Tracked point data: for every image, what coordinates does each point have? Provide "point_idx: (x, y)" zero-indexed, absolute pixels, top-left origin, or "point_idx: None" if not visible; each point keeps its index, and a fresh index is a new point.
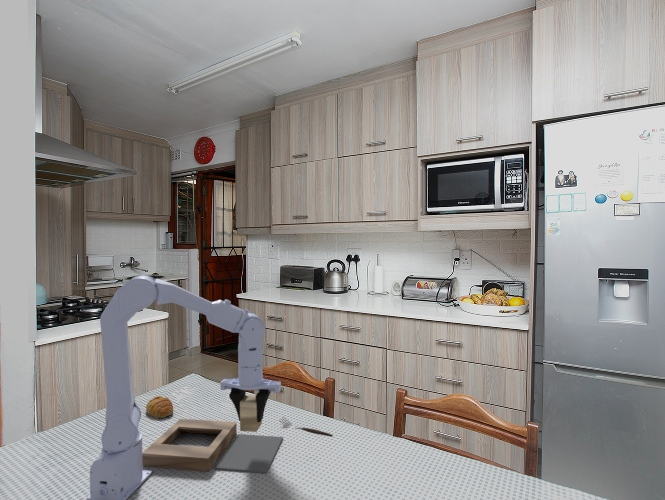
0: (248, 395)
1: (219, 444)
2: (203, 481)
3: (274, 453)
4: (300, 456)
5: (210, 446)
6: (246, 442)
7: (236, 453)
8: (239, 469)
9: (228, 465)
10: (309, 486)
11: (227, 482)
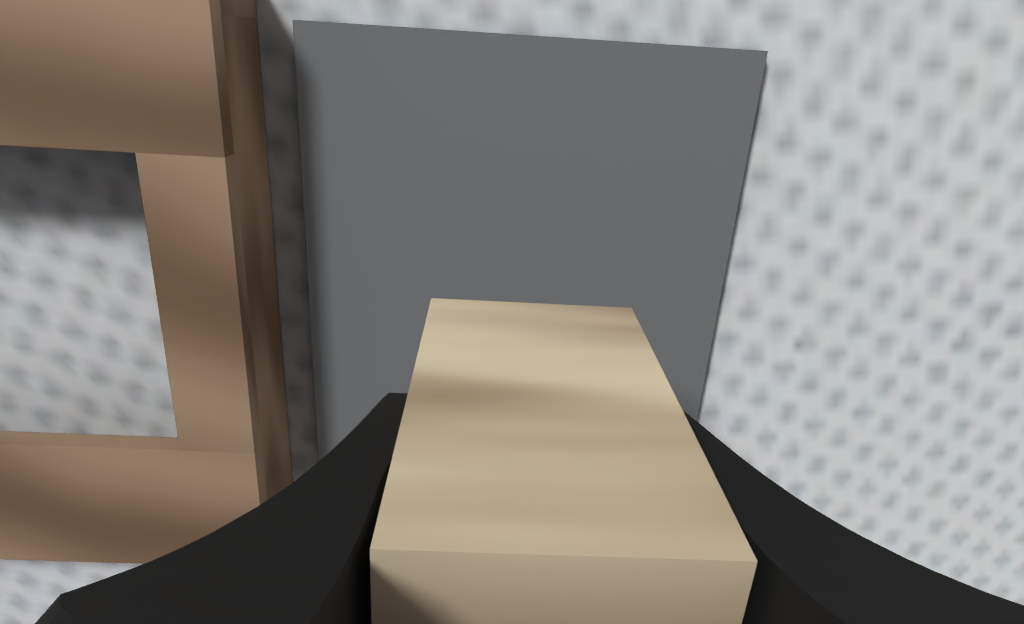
0: (444, 578)
1: (251, 399)
2: None
3: (713, 314)
4: (913, 308)
5: (191, 438)
6: (431, 170)
7: (406, 332)
8: None
9: None
10: (943, 566)
11: None
